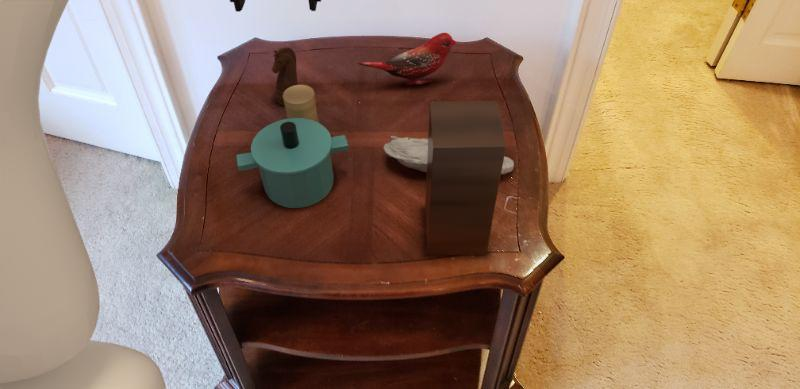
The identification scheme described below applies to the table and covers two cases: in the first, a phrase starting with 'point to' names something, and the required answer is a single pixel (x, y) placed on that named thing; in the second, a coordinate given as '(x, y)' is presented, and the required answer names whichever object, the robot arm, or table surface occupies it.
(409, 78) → the decorative bird figurine
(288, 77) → the chess piece
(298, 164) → the pot lid
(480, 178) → the pedestal
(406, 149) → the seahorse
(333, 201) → the table surface
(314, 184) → the pot
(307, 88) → the cylinder
